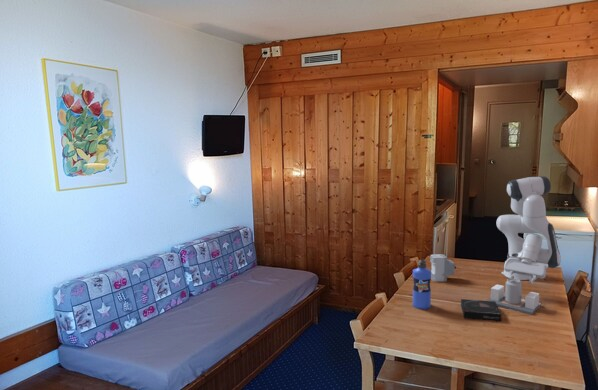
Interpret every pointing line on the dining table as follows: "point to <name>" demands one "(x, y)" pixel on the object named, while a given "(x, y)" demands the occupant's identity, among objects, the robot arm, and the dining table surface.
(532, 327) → the dining table surface
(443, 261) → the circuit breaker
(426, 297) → the water bottle
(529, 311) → the board
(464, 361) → the dining table surface
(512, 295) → the can
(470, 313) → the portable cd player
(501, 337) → the dining table surface
